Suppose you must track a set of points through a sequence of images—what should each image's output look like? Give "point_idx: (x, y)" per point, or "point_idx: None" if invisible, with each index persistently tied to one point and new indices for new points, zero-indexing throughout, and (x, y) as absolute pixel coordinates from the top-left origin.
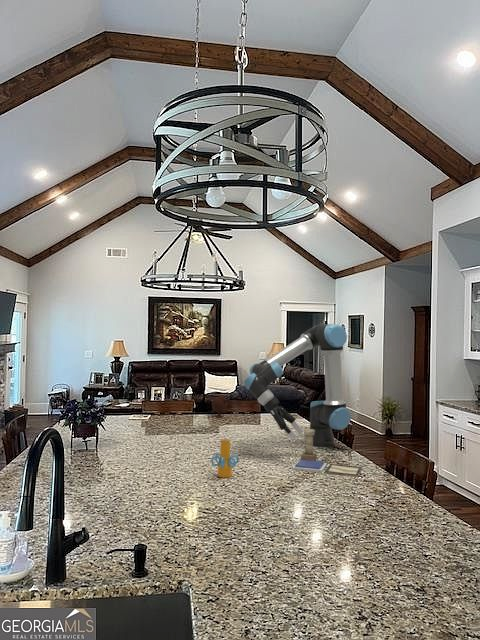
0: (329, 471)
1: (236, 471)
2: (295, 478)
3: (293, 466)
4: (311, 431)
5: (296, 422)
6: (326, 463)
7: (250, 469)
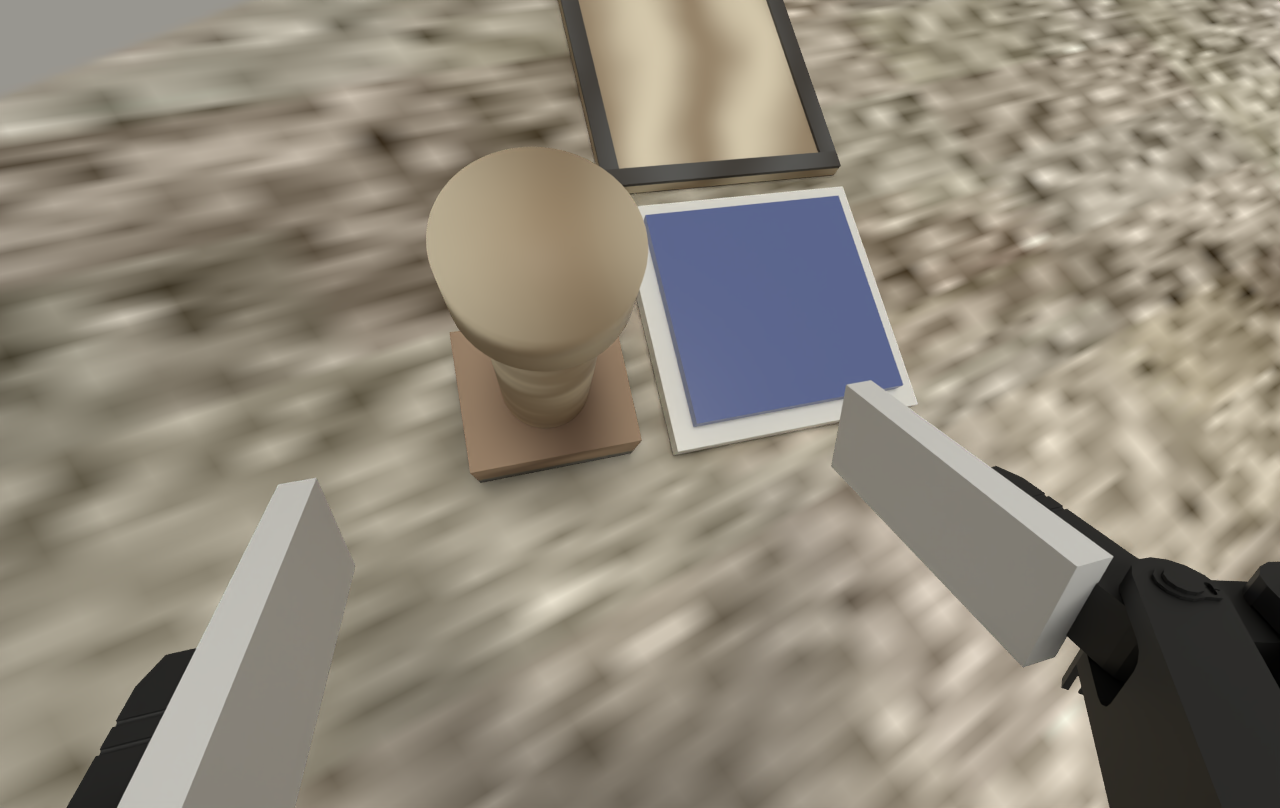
0: (819, 139)
1: None
2: (1068, 299)
3: None
4: (613, 183)
5: (157, 734)
6: None
7: None
